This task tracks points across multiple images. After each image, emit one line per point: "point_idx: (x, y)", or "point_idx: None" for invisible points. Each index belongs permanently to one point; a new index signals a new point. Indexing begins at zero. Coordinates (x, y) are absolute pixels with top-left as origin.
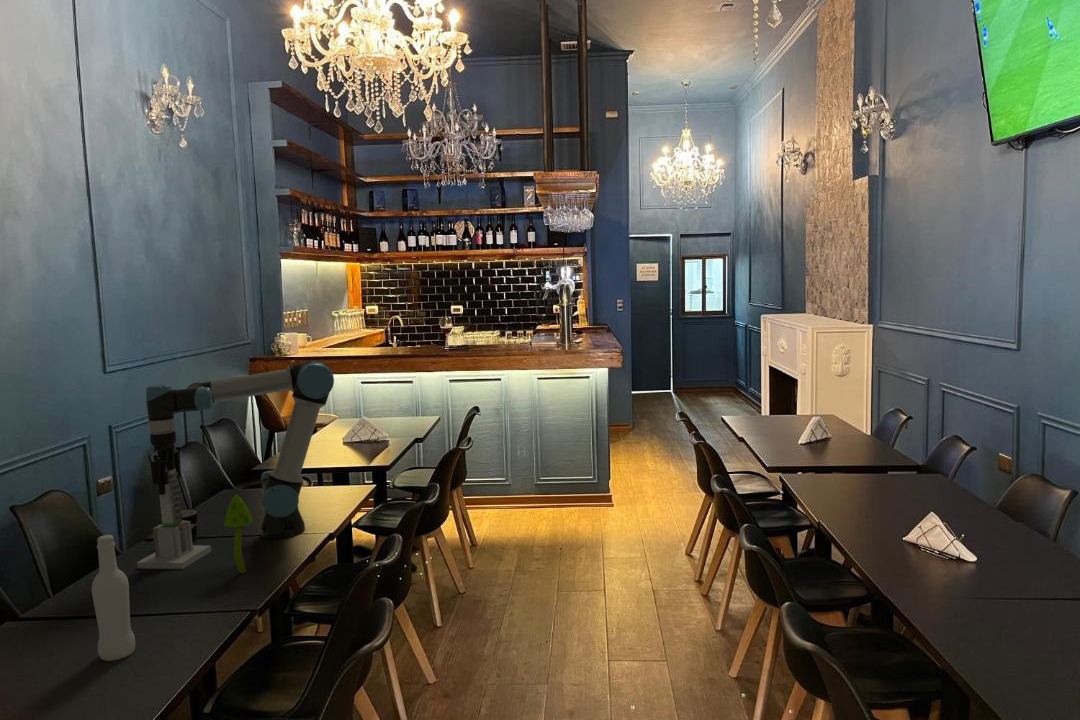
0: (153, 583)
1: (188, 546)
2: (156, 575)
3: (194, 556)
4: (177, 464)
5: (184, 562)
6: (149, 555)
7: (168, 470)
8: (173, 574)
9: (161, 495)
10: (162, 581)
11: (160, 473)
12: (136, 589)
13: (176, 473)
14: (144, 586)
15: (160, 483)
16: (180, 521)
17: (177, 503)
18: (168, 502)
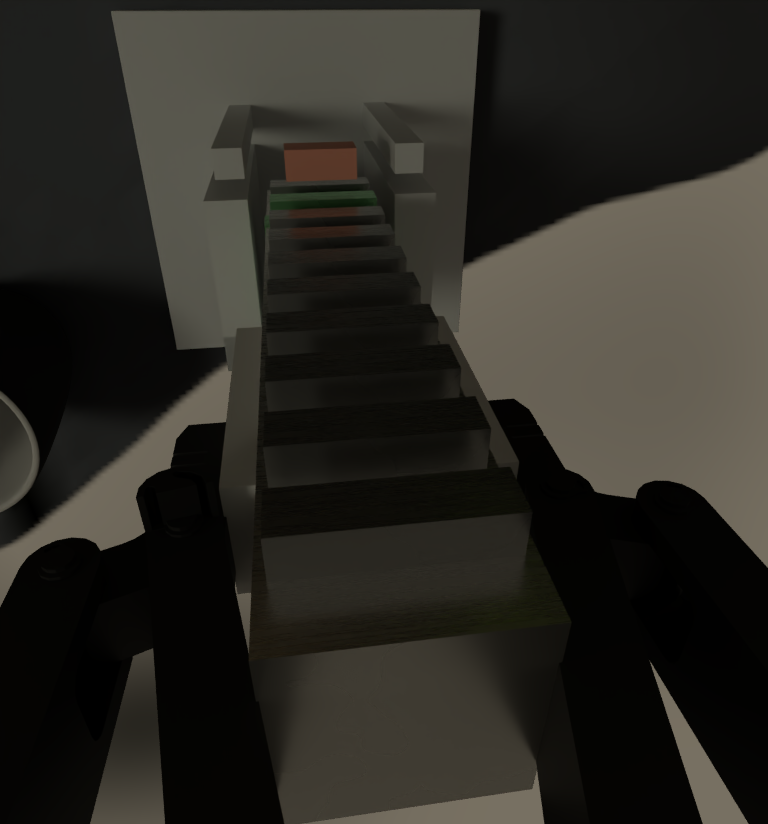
0: (687, 54)
1: (251, 132)
2: (562, 128)
3: (333, 10)
4: (23, 807)
5: (452, 10)
6: None
7: (441, 689)
8: (558, 14)
9: None
10: (666, 11)
11: (765, 647)
12: (757, 102)
13: (323, 525)
14: (723, 82)
15: (687, 490)
16: (306, 198)
17: (340, 261)
18: (439, 324)
